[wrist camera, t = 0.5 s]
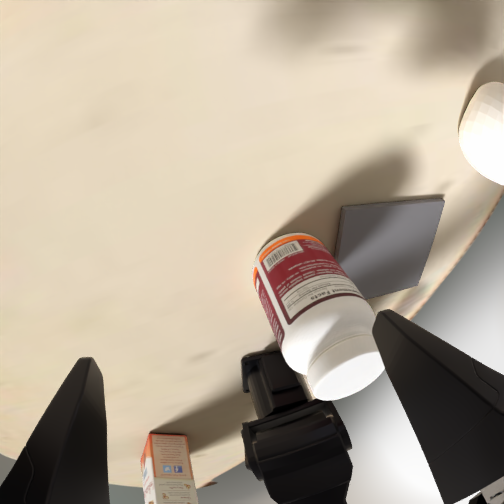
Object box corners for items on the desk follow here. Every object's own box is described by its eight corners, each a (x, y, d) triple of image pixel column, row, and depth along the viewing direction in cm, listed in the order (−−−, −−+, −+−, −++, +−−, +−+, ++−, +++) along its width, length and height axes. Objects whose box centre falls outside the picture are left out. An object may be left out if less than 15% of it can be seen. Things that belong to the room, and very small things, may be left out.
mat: (414, 282, 30) (417, 285, 30) (325, 304, 28) (328, 308, 28) (440, 198, 25) (444, 201, 24) (342, 206, 22) (345, 210, 22)
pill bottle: (304, 297, 27) (359, 403, 18) (238, 289, 25) (280, 413, 16) (337, 238, 24) (418, 340, 15) (269, 220, 22) (339, 342, 13)
